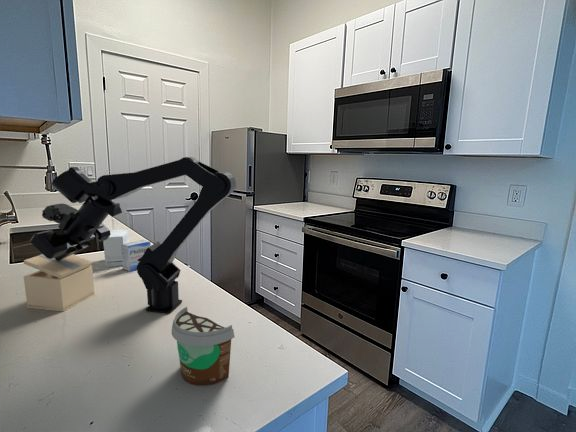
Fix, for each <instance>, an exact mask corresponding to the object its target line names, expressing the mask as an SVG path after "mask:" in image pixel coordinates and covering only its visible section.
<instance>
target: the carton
mask: <svg viewBox="0 0 576 432" xmlns="http://www.w3.org/2000/svg"><path fill="white" fill-rule="evenodd" d="M93 273H94V272H93V265H91V266H88V267H86V268H84V269H81V270H79V271H77V272H74V273H72V274H70V275H67V276H65V277H63V278H57V277H55V276H53V275H50V274H48V273H45V272H43V271H40V270H37V271H35V272H32V273H29V274H27V275H24V276H23V282H24V290H25V298H26V306H27V308H28V309H34V310H35V309H36V310H47V311H54V312H55V311H56V312H65V311H67V310H69V309H71V308H73V307H74V306H76V305H78V304H79V303H81V302H83V301H85V300H87V299H89V298H91V297H93V296H94V295H95V284H94V274H93Z"/></svg>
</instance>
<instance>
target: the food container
mask: <svg viewBox="0 0 576 432" xmlns="http://www.w3.org/2000/svg"><path fill="white" fill-rule="evenodd" d="M170 331H171V332H170V333H171V336H172V338H173V339H174V340H175V341H176V344H177V345H176V346H177V352H178V358H179V365H180V373H181V378H182V379H183V380H184V381H185V382H186V383H187V384H190V385H192V386H193V385H194V386H197V387H198V386H199V387H203V386H204V387H205V386H206V387H207V386H211V385H215V384H219V383H221V382H223V381H225V380H226V379H228V378H230V377H229V376H230V364H231V363H230V361H231V350H232V339H234V338H235V331H234V328H233V324H231V325H227V326H226V327H225V326H222V325H220V324H218V323H216V322H215V321H213V320H212V319H209V318H208V317H204V316H200V315H199V316H198V315H196V314H194V313H191V312H189V311H188V306H185V307H184V308H182V309H180V310H179V311H178V312H176V314H175V316H174V318H173V321H172V325H171V330H170Z"/></svg>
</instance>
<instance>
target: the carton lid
mask: <svg viewBox="0 0 576 432" xmlns="http://www.w3.org/2000/svg"><path fill="white" fill-rule="evenodd" d="M23 265H26V266H28V267H31V268H32V269H36V270H37V271H43V272H45V273H48V274H50V275H53V276H55V277H57V278H63V277H65V276H67V275H70V274H72V273H74V272H77V271H79V270H81V269H84V268H86V267H88V266H93V261H92V260H89V259H86V258H83V257H81V256H78V255H76V254H75V253H74V254H72V255H70V256H68V257H66V258H64V259H62V260H60V261H57V260H56V259H55V258H52V259H49V258H46V257H45V256H44V255H43V254H42V253H41V254H38V255H36V256H33V257H31V258H26V259H25V260H23Z"/></svg>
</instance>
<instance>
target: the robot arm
mask: <svg viewBox="0 0 576 432" xmlns="http://www.w3.org/2000/svg"><path fill="white" fill-rule="evenodd" d="M185 176H186V177H188V178H190V179H191V180H192V181H193V182H194V183H196V184H198V185H199V186H201V189H200V191H199V194H198V197H197V199H196V201H195V202H194V204H192V206H191V207H190V209H188V211H187V212H186V213H185V214H184V215H183V216H182V218H181V219H180V220H179V222H178V223H177V224H176V225H175V227H174V228H173V230H171V232H170V233H169V234H168V236H167V237H166V238H165V239H164V240H163V242H162V243H160V241H156V242H155V243H154V244H151V246H150V247H148V248H147V249H146V251H145V253H144V255H143V256H142V257H141V258H139V259H138V260H137V261H140V262H139V263H138V265H137V268H136V269H137V270H136V272H137V275H138V277H139V278H140V279H141V280H142V283H143V284H144V287H145V289H146V293H147V299H146V300H147V305H148V306H147V307H146V308H145V311H146V312H155V313H163V314H170V313H172V312H173V311H174V310H175V309H176V308H178V307H179V306H180V305H181V304H182V302H183V299H180V298H179V297H180V296H179V281H176V279H178V278H179V276H180V275H181V269H180V268H179V267H178V266H177V265H176V264H175V263H174V260H175V258H176V256H177V253H178V251H179V249H180V248H181V247H182V246H183V244H184V243H186V241H187V240H188V239H189V237H190V236H191V235H192V234H193V232H194V231H195V230H196V229H197V228H198V226H199V225H201V223H202V222H203V220H204V219H205V218H206V217H207V215H208V214H209V213H211V211H212V210H213V209H214V208H215V207H217V206H218V205H219V204H220V203H221V202H223V201H224V200H225V199H227V197H229V196H230V195H231V194H233V192H234V191H235V189H236V187H237V182H236V179H235V176H234V175H233V174H232V173H230V172H229V171H219V170H217V169H216V168H214V167H211V166H209V165H207V164H205V163H203V162H201V161H200V160H198V159H197V158H196V157H194V156H193V157H192V156H185V157H181V158H180V159H178V160H174V161H171V162H167V163H163V164H160V165H156V166H153V167H150V168H149V167H148V168H145V169H142V170H138V171H134V172H126V173H125V172H124V173H114V174H103V175H102V176H98V178H97V180H94V181H93V180H91V179H90V178H89V177H88V176H87V175H85V174H84V173H83V171H82V170H81V169H80V168H79V167H77V166H71V167H69V168H68V169H67V170H65V171H63V172H61V174H59V175H58V176H55V178H53V180H52V182H51V186H52V187H53V188H54V189H55V190H56V191H57V192H58V193H60V194H61V195H62V196H63V197H64V198H66V199H67V200H68V201H69V202H70V203H72V204H75V203H79V204H81V206H80V208H78V209H77V208H75V207H73V206H71V205H68V204H67V203H55V204H50V205H47V206H45V207H44V209H43V210H42V211H41V212H42V214H41V216H42V218H43V219H45V220H47V221H49V222H55V223H57V224H59V225H58V229H59V230H61V231H64V232H59V233H56V232H55V231H54V230H53V229H52V230H45V231H44V230H43V231H40V232H37V233H34V234H33V235H32V237H31V238H30V239H29V242H30V243H31V244H32V245H33V246H34V248H36V249H37V250H38V251H39V253H41V254H43V255H44V256H45V257H46V258H49V259H52V258H55V259H56V260H57V261H60V260H62V259H64V258H66V257H68V256H70V255H72V254H74V255H75V254H77V253H78V252H80V251H82V250H84V249H87V248H88V247H91V245H92V244H91V243H90V242H89V241H91V240H94V239H95V238H96V237H97V235H98V239H97V240H98V242H103V241H104V240H107V239H108V237H109V236H110V231H111V229H109V228H108V227H107V226H106V225H105V224H104V223H103V222H104V221H105V219H106V218H107V217H108V215H109V216H111V217H115V216H118V215H120V214H122V213H123V211H122V208H121V205H120V203H119V202H117V203H116V202H115V201H113V200H117V199H122V198H126V197H128V196H130V195H132V194H134V193H136V192H139V190H142V189H143V188H145V187H149V186H151V185H155V184H159V183H163V182H165V181H170V180H173V179H177V178H180V177H185Z"/></svg>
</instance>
